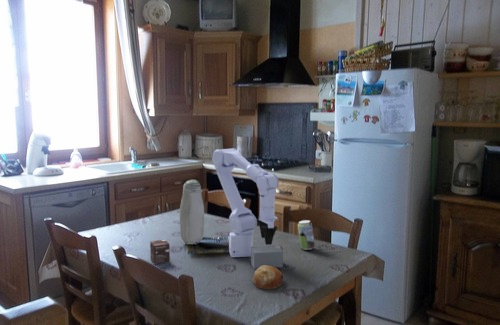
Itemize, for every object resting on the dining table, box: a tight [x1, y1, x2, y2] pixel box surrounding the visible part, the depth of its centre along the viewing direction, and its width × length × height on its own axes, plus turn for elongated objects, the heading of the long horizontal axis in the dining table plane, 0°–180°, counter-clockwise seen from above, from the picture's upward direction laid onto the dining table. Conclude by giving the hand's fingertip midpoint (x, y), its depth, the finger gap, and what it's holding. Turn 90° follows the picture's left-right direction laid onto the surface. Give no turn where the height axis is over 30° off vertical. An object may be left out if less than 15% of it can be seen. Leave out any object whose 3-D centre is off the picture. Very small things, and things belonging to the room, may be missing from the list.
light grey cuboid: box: [250, 245, 284, 270], centre depth 153 cm, size 11×6×6 cm, turn 100°
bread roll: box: [252, 265, 284, 290], centre depth 137 cm, size 10×10×8 cm
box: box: [149, 239, 171, 265], centre depth 156 cm, size 6×6×7 cm
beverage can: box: [297, 219, 315, 251], centre depth 171 cm, size 6×7×12 cm
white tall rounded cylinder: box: [179, 179, 205, 245], centre depth 174 cm, size 10×10×28 cm
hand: (266, 240), depth 155 cm, fingers open, 7 cm apart
